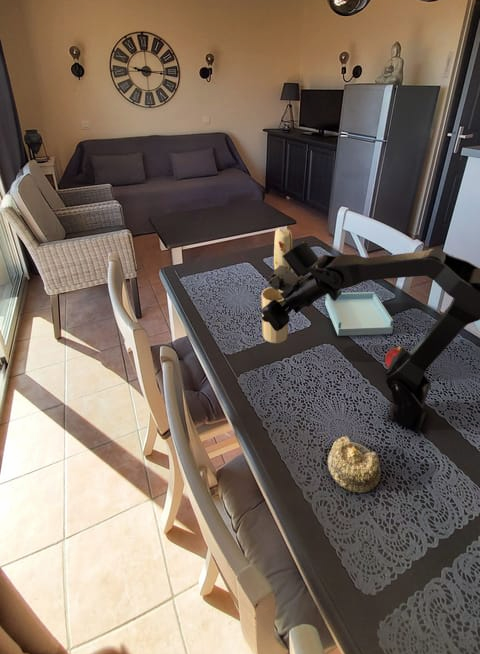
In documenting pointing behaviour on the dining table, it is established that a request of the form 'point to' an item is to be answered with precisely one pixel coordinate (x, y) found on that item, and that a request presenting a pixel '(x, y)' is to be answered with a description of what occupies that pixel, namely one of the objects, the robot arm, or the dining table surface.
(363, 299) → the shallow mint tray
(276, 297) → the cup
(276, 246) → the food model
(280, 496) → the dining table surface
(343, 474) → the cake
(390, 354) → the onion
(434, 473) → the dining table surface
